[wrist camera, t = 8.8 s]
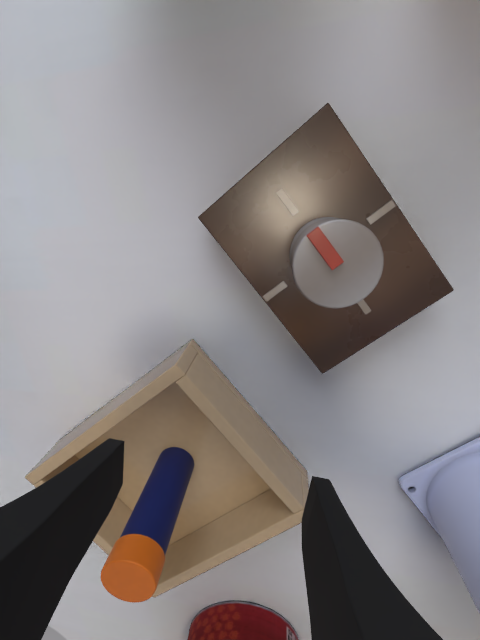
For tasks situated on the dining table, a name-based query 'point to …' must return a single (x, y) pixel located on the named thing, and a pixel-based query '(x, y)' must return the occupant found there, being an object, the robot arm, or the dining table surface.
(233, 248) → the block
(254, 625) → the canned food
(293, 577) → the dining table surface
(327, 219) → the grey dial knob
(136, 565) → the marker
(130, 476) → the open wooden box
